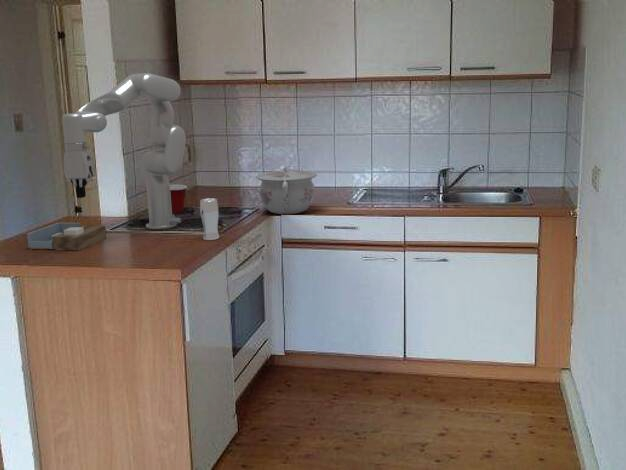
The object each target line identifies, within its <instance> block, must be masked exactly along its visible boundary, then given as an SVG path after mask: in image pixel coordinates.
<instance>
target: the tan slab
mask: <svg viewBox="0 0 626 470" xmlns="http://www.w3.org/2000/svg"><path fill="white" fill-rule="evenodd" d="M80 227H83V230H84V233H82V234H79V235H76V236H73V235H64V233H61V234H59V235H56V236H53V237H52V239H53V247H54V249H62V250H61V251H65V250H79V251H81V250H83V248H84V249H85V247H86V248H87V247H88V248H89V247H90V246H93V245H95V244H97V243H100V242H102V241H104V240H107V238H108V237H107V228H106V226H105V225H80ZM80 249H81V250H80Z"/></svg>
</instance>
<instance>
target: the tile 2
mask: <svg viewBox="0 0 626 470" xmlns="http://www.w3.org/2000/svg"><path fill="white" fill-rule="evenodd" d="M82 233H84V230H83V227H70V228H68V229H65V230H64V235H73V236H76V235H79V234H82Z"/></svg>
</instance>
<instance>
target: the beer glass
mask: <svg viewBox="0 0 626 470" xmlns="http://www.w3.org/2000/svg"><path fill="white" fill-rule="evenodd" d="M199 203H200V204H199V214H200V219H201V223H202V227H203V237H202V239H203V240H205V241H214V240H215V241H216V240H219V239H220V235H219V231H218V229H219V228H218V225H219V216H220V215H219V214H220V210H219V203H218V198H213V197H212V198H211V197H210V198H203V199H202V198H201V199H200V200H199Z"/></svg>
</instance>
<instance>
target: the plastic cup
mask: <svg viewBox="0 0 626 470" xmlns="http://www.w3.org/2000/svg"><path fill="white" fill-rule="evenodd" d="M187 188H188V186H187V185H185V184H170V194H171V206H172V213H181V212H183V211H184V207H185V201H186V199H185V198H186V191H187Z"/></svg>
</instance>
